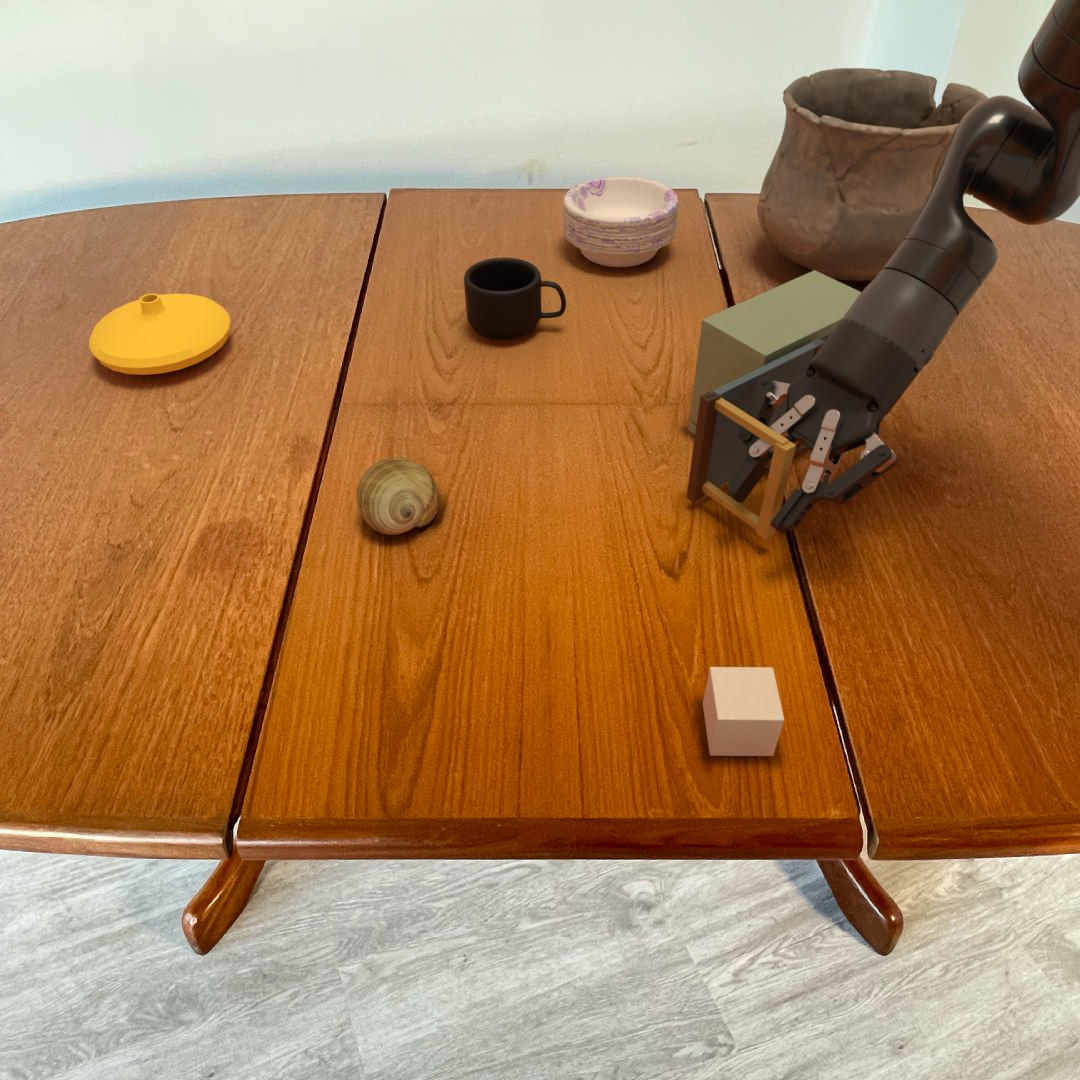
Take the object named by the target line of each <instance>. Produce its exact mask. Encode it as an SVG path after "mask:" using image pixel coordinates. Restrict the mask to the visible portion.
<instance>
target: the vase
mask: <svg viewBox="0 0 1080 1080" xmlns="http://www.w3.org/2000/svg"><path fill="white" fill-rule="evenodd" d="M231 321H232V320H231V318H230V315H229V312H228V311H227V310H226V309H225V308H224V307H223V306H222V305H221V304H219V303H218V302H216V301H214V300H212V299H210V298H207V297H206V296H202V295H198V294H192V293H166V294H158V293H147V294H144V295H142V296H140V298H139V299H137V300H134V301H129V302H127V303H125V304H123V305H121V306H119V307H117V308H114V309H113V310H112V311H110V312H108V313H107V314H105V315H104V316H103V317H102V318H100V320H99V321H98V322H97V323H96V324H95V326H94V328H93V330H92V332H91V335H90V337H89V339H88V346H89V351H90V352H91V353H92V354H93V356H94V357H95V358H96V359H97V361H98V362H99V363H100V364H101V365H102V366H104V367H106V368H108V369H110V370H111V371H114V372H118V373H122V374H127V375H140V376H141V375H142V376H145V375H157V374H158V375H159V374H167V373H169V372H174V371H179V370H182V369H185V368H187V367H191V366H193V365H196V364H198V363H200V362H202V361H204V360H206V359H208V358H209V357H211V356H212V355H213V354H215V353H216V352H218V350H220V349H221V348H223V346H224V345H225V343H226V342H227V340H228V339H229V335H230V331H231Z"/></svg>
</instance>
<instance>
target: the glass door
mask: <svg viewBox="0 0 1080 1080" xmlns="http://www.w3.org/2000/svg"><path fill="white" fill-rule="evenodd" d="M824 343H825V341H824V340H822V339H820V338H817V339H815V340H813V341H811V342H809V344H807V345H805V346H803V347H801V348H799V349H797V350H795V351H793V352H791V353H789V354H787V355H785V356H783V357H781V358H779V359H776V360H774V361H772V362H770V363H768V364H766V365H764V366H762V367H760V368H758V369H756V370H754V371H752V372H750V373H748V374H746V375H744V376H742V377H740V378H738V379H736V380H734V381H732V382H730V383H728V384H726V385H724V386H722V387H720V388H717V389H715V390H713V391H712V390H711V391H709V392H707V393H705V394H703V395H701V396H700V403H699V411H698V418H697V425H696V432H695V435H694V441H693V448H692V455H691V462H690V469H689V476H688V484H687V489H686V490H687V491H686V499H687V500H689V501H690V502H691V503H696V502H698V501H700V500H701V499H703V498H704V497H705V496H707V497H710V498H711V499H712V500H714V501H715V502H717V503H718V504H719V505H720V506H722V507H723V508H724V509H726V510H728V511H729V512H730V513H732V514H733V515H734V516H736V517H737V518H738V519H739V520H741V521H742V522H744V523H745V524H747V525H748V526H750V527H751V528H752V529H754V530H755V534H756V535H758V536H759V537H760V538H762V539H763V540H764V541H767V540H769V539H770V538H772V537H774V536H775V534H776V531H777V530H776V529H774V528H773V527H772V526H771V525H770V524H771V521H772V520H773V518H774V517H775V516H776V514H777V513H778V512H779V510H780V509H781V508H782V506H783V501H784V497H785V492H786V488H787V483H788V480H789V477H790V476H789V475H790V471H791V468H792V464H793V459H794V458H793V456H794V451H795V447H796V445H795V444H793V443H792V442H790V441H789V440H788V439H786V438H785V437H783V436H782V435H780V434H778V433H777V432H775V431H774V430H772V429H770V428H769V427H770V426H771V425H772V424H774V423H775V422H776V421H777V420H778V419H780V418H781V417H782V416H783V415H785V414H786V408H787V398H786V399H784V400H783V402H782V403H781V405H780V406H778V407H775V409H774V412H773V415H772V417H771V420H770V422H769V425H768V427H767V426H766V425H764V424H763V423H761V422H759V421H758V420H756V419H755V418H753V417H751V416H750V415H748V414H747V413H746V411H747V409H748V406H749V404H750V401H751V398H752V396H753V393H754V390H755V388H756V385H757V383H758V380H759V378H760V377H761V376H763V375H768V376H770V377H771V378H772V379H773V380H774V381H778V382H783V383H788V384H791V383H792V382H793V381H794V380H796V379H798V378H800V377H801V376H802V375H803V374H805V372H806V371H807V369H808V367H809V365H810V363H811V361H812V359H813V358H814V357H815V355H816V354H817V352H818V351H819V350H820V348H821V347H822V346H823V344H824ZM741 426H742V427H744V428H745V429H747V430H748V431H750V432H752V433H753V434H755V435H756V436H758V437H759V438H761V439H762V440H764V441H766V442H767V443H769V444H770V445H772V446H773V447H775V448H774V452H773V457H772V461H771V466H770V471H769V472H768V476H767V480H766V485H765V489H764V495H763V498H762V503H761V508H760V512H759V516H758V515H756V514H755V513H754V512H752V511H751V510H750V509H748V508H746V507H745V506H744V505H742V503H739V502H737V501H736V500H734V499H733V498H731V497H730V496H729V495H728V493H727V492H726V493H725V492H724V491H722V489H721V487H723V486H724V485H726V484H729V480H730V479H731V478H732V476H733V475H734V473H735V472H736V471H737V469H738V468H739V467H740V465H741V464H742V462H743V461H744V460H745V458H746V457H747V454H748V450H747V448H746V446H745V445H744V443H743V442H742V440H740V439H739V437H738V432H739V430H740V427H741ZM798 444H799V443H798ZM798 444H797V445H798Z"/></svg>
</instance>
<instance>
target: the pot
mask: <svg viewBox="0 0 1080 1080" xmlns="http://www.w3.org/2000/svg"><path fill="white" fill-rule="evenodd" d="M937 83H938V80H937V78H936V77H934V76H931V75H925V74H922V73H918V72H913V71H909V70H899V69H887V70H882V69H880V68H866V67H865V68H863V67H849V68H848V67H842V68H839V67H838V68H830V69H825V70H824V69H823V70H819V71H815V72H813V73H811V74H810V75H809V76H808V75H807V76H805V75H804V76H801V77H798V78H796V79H795V80H793V81H792V82H791V83H790V84H789V85H788V86H786V87H785V89H784V90H783V92H782V94H783V96H782V102H783V103H784V106H785V121H784V126H783V131H782V135H781V139H780V142H779V144H778V146H777V149H776V151H775V153H774V156H773V158H772V161H771V162H770V164H769V167H768V169H767V171H766V174H765V175H764V179H763V181H762V184H761V189H760V193H759V196H758V197H759V198H758V203H757V207H756V209H757V211H756V213H757V218H758V224H759V227H760V228H761V230H762V232H763V233H764V235H765V236H766V237H767V239H768V240H769V242H770V243H771V244H772V245H773V246H774V247H775V248H776V249H777V250H778V251H779V252H780V253H782V254H783V255H784V256H785V257H786V258H788V259H789V260H791V261H792V262H794V263H795V264H797V265H800V266H802V267H805V268H806V269H809V270H811V271H814V270H815V271H817V272H819V273H822V274H824V275H826V276H828V277H830V278H832V279H834V280H840V281H849V282H850V281H851V282H866V281H872V280H873V279H874V278H875V277H876V276H877V275H878V274H879V272H880V271H881V270H882V269H883V267H884V266H885V265H886V263H887V262H888V260H889V259H890V258H891V256H892V255H893V254H894V252H895V251H896V249H897V248H898V247H899V245H900V244H901V243H902V241H903V240H904V238H905V237H906V235H907V234H908V232H909V231H910V229H911V228H912V226H913V225H914V223H915V222H916V220H917V218H918V216H919V215H920V213H921V211H922V209H923V207H924V205H925V203H926V201H927V199H928V197H929V194H930V192H931V190H932V188H933V185H934V183H935V180H936V178H937V175H938V172H939V169H940V167H941V164H942V161H943V158H944V156H945V153H946V150H947V148H948V145H949V142H950V140H951V138H952V136H953V133H954V131H955V129H956V128H957V126H958V124H959V123H960V121H961V120H962V118H963V117H964V116H965V115H966V114H967V113H968V112H969V111H970V110H971V109H972V108H973V107H974V106H976V105H977V104H979V103H980V102H982V101H984V100H986V99H988V98H989V97H988V96H987V95H986V94H985V93H983V92H982V91H979V90H978V89H977V88H974V87H971V86H969V85H965V84H961V83H956V82H949V83H948V84H947V85H946V88H945V89H944V91H943V93H942V96H941V102H940V103H939V104H938V105H937V102H936V100H935V93H936V87H937Z"/></svg>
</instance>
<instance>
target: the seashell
mask: <svg viewBox="0 0 1080 1080" xmlns="http://www.w3.org/2000/svg"><path fill="white" fill-rule="evenodd" d="M356 505H357V509H358V512H359V513H360V515H361V517H362V519H363V520H364V521H365V522H366V524H367V525H368V526H369V527H370V528H372V529H373V530H374V531H376V532H377V533H381V534H383V535H387V536H392V535H393V536H394V535H400V534H404V533H407V532H409V531H410V530H413V529H414V528H416V527H417V528H422V527H426V526H427V525H429V524H430V523H432V521H433V520H434V519H436V517H437V514H438V512H439V507H440V495H439V490H438V485H437V483H436V481H435V478H434V477H433V475H432V474H431V473H430V472H429V470H428V469H427V468H426V467H425V466H423V465H421V464H420V463H418V462H416V461H413V460H412V459H409V458H405V457H389V458H385V459H381V460H378V461H376V462H374V463H373V464H372V465H371V466H370V467H368V469H366V471H365V472H364V474H363V475H362V476H361V478H360V480H359V483H358V486H357V490H356Z"/></svg>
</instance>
